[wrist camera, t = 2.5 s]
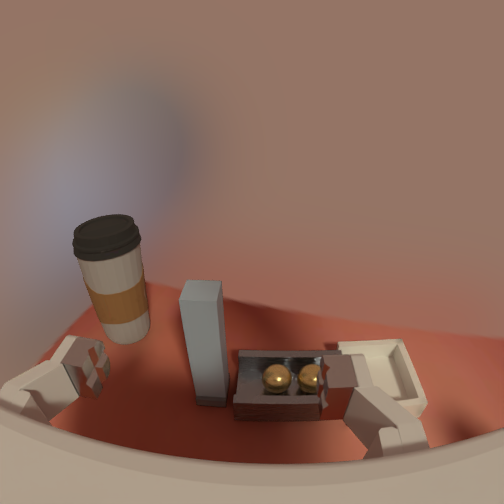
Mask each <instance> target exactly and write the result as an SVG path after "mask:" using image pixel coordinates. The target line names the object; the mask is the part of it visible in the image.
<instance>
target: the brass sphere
mask: <svg viewBox="0 0 504 504" xmlns="http://www.w3.org/2000/svg"><path fill="white" fill-rule="evenodd" d="M291 382H292V375H291V372H290V371H289V369H288V368H287V367H285V366H283V365H280V364H274V365H271V366H269V367H267V368H266V369H265V370H264V372H263V374H262V384H263V386H264V387H265V389H266V390H268V391H269V392H272V393H282V392H284V391H286V390H287V389H288V388H289V386H290V385H291Z"/></svg>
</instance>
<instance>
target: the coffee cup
mask: <svg viewBox="0 0 504 504" xmlns="http://www.w3.org/2000/svg"><path fill="white" fill-rule="evenodd" d="M140 241H141V236H140V234H139V229H138V227H137V226H136V225H135V224H134V220H133V218H132V217H130V216H127V215H121V214H118V215H117V214H116V215H106V216H101V217H97V218H94V219H91V220H88V221H86V222H84V223H82V224H81V225H79V226H78V227H77V228H76V229H75V230H74V239H73V243H72V244H73V247H74V255H75V256H76V257H77V260H78V262H79V265H80V268H81V271H82V274H83V279H84V282H85V285H86V288H87V290H88V293H89V296H90V298H91V301H92V303H93V306H94V308H95V311H96V313H97V316H98V318H99V320H100V322H101V324H102V326H103V329H104V331H105V333H106V335H107V337H108V338H110V339H111V340H112V341H113V342H115V343H118V344H131V343H135V342H137V341H139V340H141V339H142V338H144V337H145V335H146V334H147V332H148V330H149V327H150V319H149V313H148V301H147V294H146V286H145V279H144V269H143V264H142V259H141V248H140Z"/></svg>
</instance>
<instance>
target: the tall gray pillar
mask: <svg viewBox="0 0 504 504" xmlns="http://www.w3.org/2000/svg"><path fill="white" fill-rule="evenodd" d="M179 305H180V311H181V317H182V323H183V329H184V334H185V340H186V346H187V351H188V356H189V362H190V367H191V372H192V377H193V382H194V387H195V391H196V403H197V405H203V406H216V407H226V403H227V396H228V388H229V381H230V375H229V373H228V361H227V349H226V336H225V323H224V309H223V295H222V281H210V280H187V281H186V283H185V286H184V288H183V291H182V293H181V296H180V298H179Z"/></svg>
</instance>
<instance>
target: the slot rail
mask: <svg viewBox="0 0 504 504" xmlns="http://www.w3.org/2000/svg"><path fill="white" fill-rule="evenodd" d="M322 355H342V351H341V350H323V351H261V350H239V355H238V359H239V374H238V383H237V392H236V395H235V394H234V398H233V409H234V420H245V421H319V420H320V416H319V408H318V404H319V400H320V398H319V397H318V396H317V392H315V393H307V392H305V391H303V390H302V389H301V388H300V387H299V386H298V383H297V375H298V372H299V371H300V369H301V368H302V367H304V366H306V365H308V364H316V365H319V366H320V359H321V356H322ZM274 364H280V365H283V366H285V367H287V368H288V369H289V371H290V372H291V375H292V382H291V385H290V386H289V388H288V389H287V390H286V391H284V392H282V393H272V392H269V391H268V390H266V389H265V387H264V386H263V384H262V374H263V372H264V370H265V369H266V368H267V367H269V366H271V365H274ZM335 420H338V419H335Z"/></svg>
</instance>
